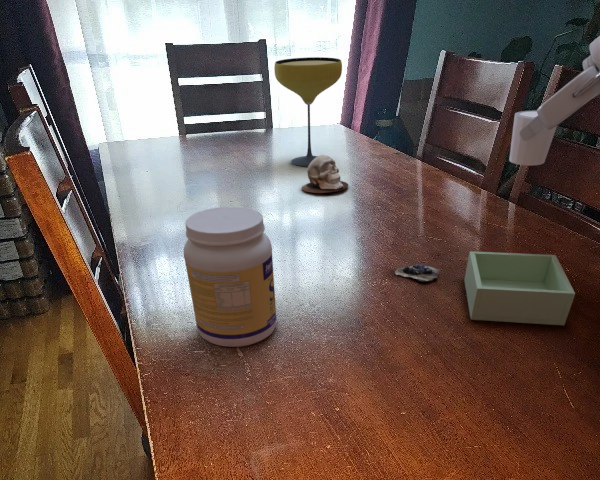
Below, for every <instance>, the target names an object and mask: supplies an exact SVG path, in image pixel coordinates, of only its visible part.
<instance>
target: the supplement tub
mask: <svg viewBox="0 0 600 480" xmlns="http://www.w3.org/2000/svg"><path fill="white" fill-rule="evenodd" d="M185 230H186V231H185V236H186V238H187V239H186V241H185V243H184V246H183V258H184V263H185V269H186V274H187V280H188V285H189V292H190V296H191V301H192V308H193V314H194V318H195V325H196V329H197V331H198V333H199V335H200V336H201V337H202V338H203V339H204V340H205V341H207V342H208V343H211V344H213V345H216V346H221V347H228V348H230V347H231V348H238V347H246V346H250V345H254V344H257V343H259V342H261V341H263V340H265V339H267V338H268V337H269V336H270V335H271V334H272V333H273V332H274V330H275V328H276V325H277V320H278V319H277V318H278V317H277V308H276V307H277V306H276V291H275V278H274V277H275V275H274V264H273V263H274V262H273V246H272V243H271V240H270V238H269V236H268V235H267V234H266V233H265V230H266V226H265V224H264V217H263V214H262V213H261V212H260V211H259V210H257V209H253V208H251V207H246V206H237V205H236V206H235V205H234V206H233V205H232V206H231V205H229V206H218V207H211V208H207V209H204V210H200V211H197V212H195V213H193V214H191V215H190V216H188V217H187V219H185Z"/></svg>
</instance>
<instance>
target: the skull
mask: <svg viewBox="0 0 600 480" xmlns="http://www.w3.org/2000/svg"><path fill="white" fill-rule="evenodd" d="M317 156H318V157H316V158H315V159H314V160H313V161H312V162H311V163H310V164H309V166H308V167H307V169H306V173H307V177H308V181H309V182H307V183H306V184H304V185H302V186H301V190H302V191H303V192H307V193H315V194H323V193H324V194H326V193H333V192H338V191H344V190H346V189H348V187H349V183H347V182H346V181H343V180H341V175H340V174H339V172H340V169H339V167H338V166H337V165H336V160H334V159H333V158H332V157H330V155H326V154H320V155H317Z"/></svg>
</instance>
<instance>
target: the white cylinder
mask: <svg viewBox="0 0 600 480" xmlns="http://www.w3.org/2000/svg"><path fill="white" fill-rule="evenodd" d="M536 116H538V114H537V109H535V110H534V109H533V110H522V111H521V110H520V111H518V112H515V113H514V117H513V126H512V133H511V140H510V141H511V142H510V149H509V157H508V158H509V159H508V161H509V162H510V163H512V164H515V165H519V166H528V167H529V166H541V165H543V164H544V163H545V162H546V159H547V157H548V153H549V152H550V147H551V145H552V142H553V139H554V136H555V133H556V130H557V127H558V125H557V126H556V127H554V128H552V129H547V128H546V127H545V128H544V129H542V130H541V131H539V132H538V133H536V134H535V135H533V136H532V137H531V138H529V139H528V140H527V141H524V140H523V139H522V137H521V136H520V131H521V130H522V129H523V128H524V127H526V126H527V125H528V124H529V123H530V122H531V121H532V120H533V119H534V118H535V117H536Z"/></svg>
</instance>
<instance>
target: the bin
mask: <svg viewBox="0 0 600 480" xmlns="http://www.w3.org/2000/svg"><path fill="white" fill-rule="evenodd" d="M571 284H572V283H571V282H570V280H569V279H568V277H567V275H566V273H565V270H564V269H563V267H562V265H561V263H560V261H559V259H558V257H557V255H556V254H543V253H542V254H541V253H517V252H515V253H514V252H494V251H492V252H491V251H469V254H468V259H467V263H466V269H465V275H464V288H465V293H466V294H465V295H466V300H467V306H468V311H469V312H468V313H469V318H470V320H472V321H488V322H500V323H501V322H504V323H519V324H532V325H533V324H535V325H549V326H550V325H552V326H565V324H566V322H567V318H568V316H569V313H570V311H571V308H572V305H573V302H574V299H575V296H576V292H575V290H574V288H573V286H572V285H571Z"/></svg>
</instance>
